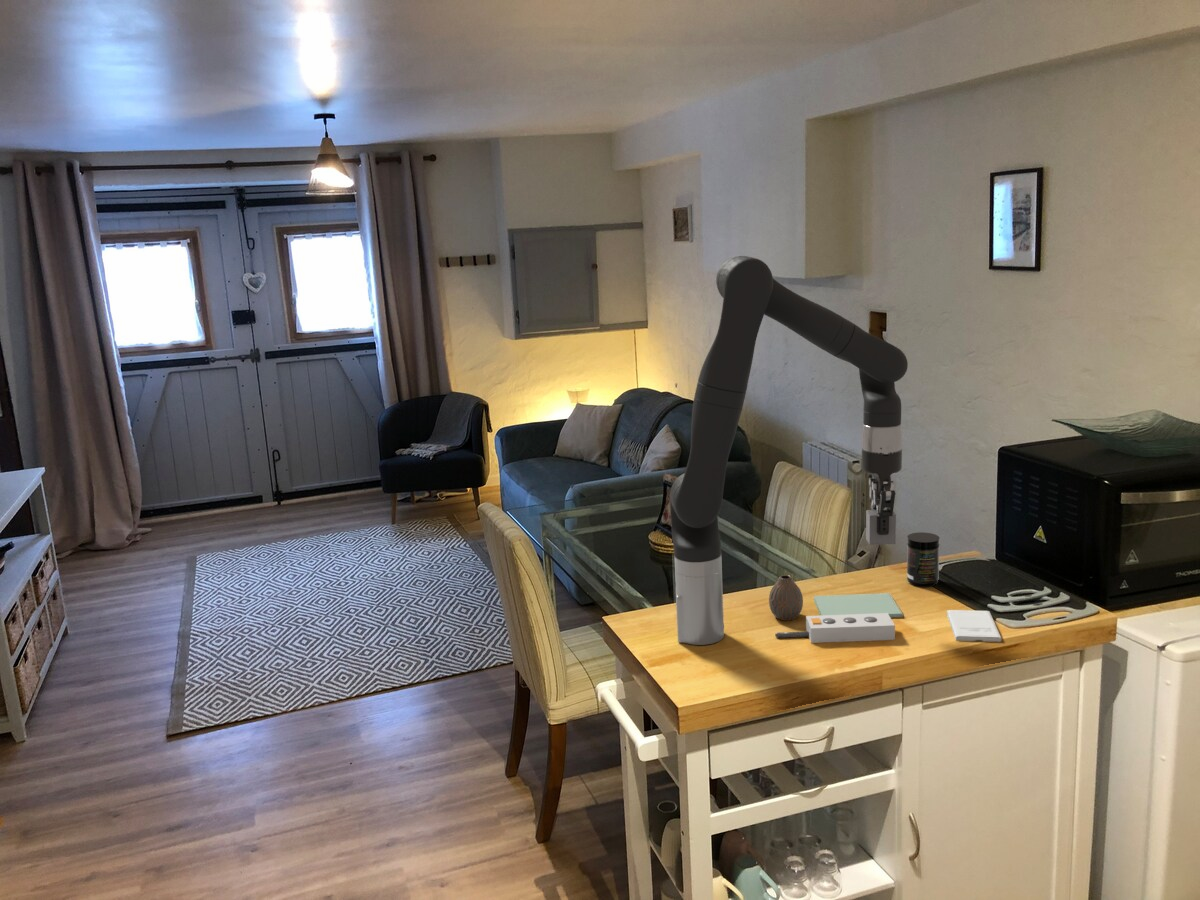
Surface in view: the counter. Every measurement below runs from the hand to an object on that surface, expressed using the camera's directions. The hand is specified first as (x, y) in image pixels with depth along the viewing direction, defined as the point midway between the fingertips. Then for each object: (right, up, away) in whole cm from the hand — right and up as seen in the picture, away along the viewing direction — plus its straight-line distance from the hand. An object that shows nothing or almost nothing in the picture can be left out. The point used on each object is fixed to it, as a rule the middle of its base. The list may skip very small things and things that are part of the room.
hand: (880, 530), depth 196 cm
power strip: (-10, -20, -2) cm, 23 cm away
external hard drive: (+18, -20, -2) cm, 26 cm away
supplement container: (+16, -13, +22) cm, 30 cm away
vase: (-17, -19, +9) cm, 27 cm away
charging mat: (-2, -17, +11) cm, 20 cm away
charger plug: (0, -2, +1) cm, 2 cm away
